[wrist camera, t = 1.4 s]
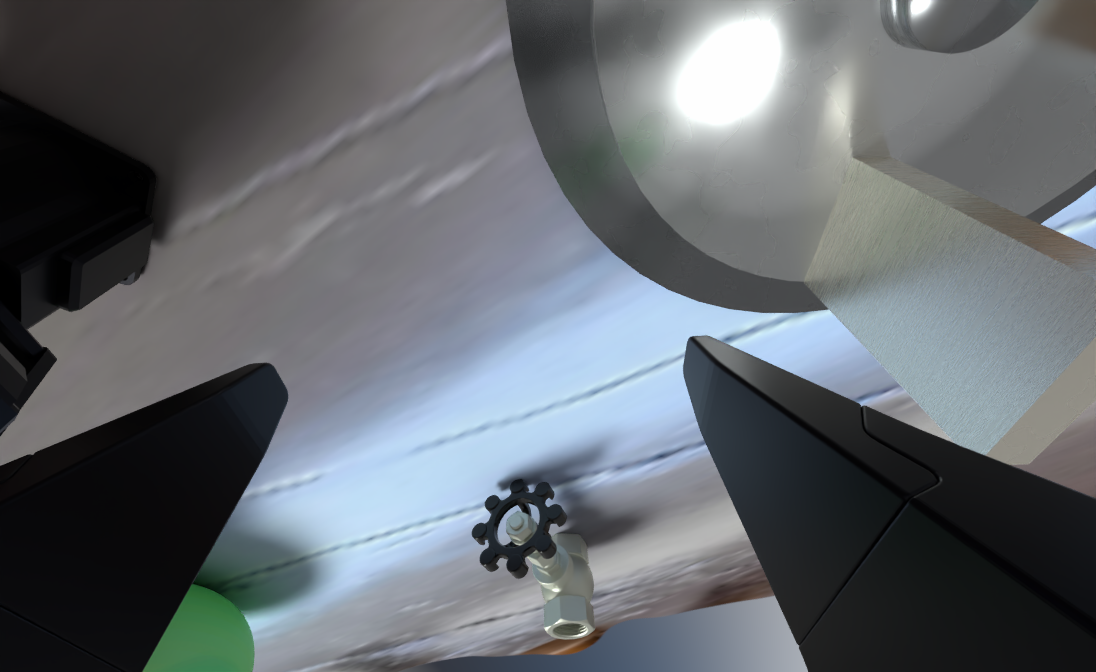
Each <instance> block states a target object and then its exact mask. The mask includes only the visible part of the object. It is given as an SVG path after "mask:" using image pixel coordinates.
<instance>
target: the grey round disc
mask: <svg viewBox="0 0 1096 672" xmlns="http://www.w3.org/2000/svg"><path fill="white" fill-rule="evenodd" d="M506 3H507V11H508V18H509V26H510V33H511V40H512V48H513V55H514V61H515V65H516V69H517V73H518V77H519V81H520V85H521V89H522V93H523V97H524V101H525V105H526V109H527V113H528V116H529V118H530V121H531V123H532V126H533V129H534V131H535V134H536V137H537V139H538V142H539V144H540V147H541V150H542V152H543V155H544V157H545V159H546V161H547V163H548V165H549V167H550V169H551V171H552V172H553V174H554V176H555V178H556V180H557V182H558V183H559V185H560V187H561V189H562V191H563V193H564V195H565V196H566V198H567V199H568V200H569V202H570V203H571V204H572V206H573V207H574V209H575V210H576V211H577V213H578V214H579V215H580V217H581V218H582V220H583V221H584V222H585V224H586V225H587V226H588V228H589V229H590V230H591V231H592V232H593V233H594V234H595V235H596V236H597V237H598V238H599V239H600V240H601V241H602V242H603V243H604V244H605V245H606V246H607V247H608V248H609V249H610V250H611V251H612V252H613V253H614V254H615V255H616V256H618V257H619V258H620V259H622V260H623V261H624V262H626V263H627V264H628V265H629V266H631V267H632V268H633V269H635V270H636V271H637V272H639V273H640V274H642V275H643V276H645V277H647V278H649V279H650V280H652V281H654V282H656V283H658V284H659V285H661V286H663V287H665V288H666V289H668V290H671V291H673V292H676V293H678V294H681V295H683V296H686V297H689V298H691V299H694V300H696V301H699V302H703V303H707V304H711V305H715V306H720V307H724V308H728V309H734V310H743V311H751V312H760V313H799V312H809V311H818V310H828V308H827V307H826V306H825V305H824V304H823V303H822V302H821V300H820V299H819V298H818V297H817V296H816V295H815V294H814V293H813V292H812V291H811V290H810V289H809V288H808V287H807V286H806V285H805V284H804V282H800V281H786V280H780V279H774V278H769V277H763V276H759V275H755V274H752V273H749V272H746V271H743V270H739V269H736V268H733V267H731V266H729V265H727V264H725V263H723V262H721V261H719V260H717V259H715V258H713V257H710V256H708V255H707V254H705V253H704V252H702V251H701V250H699V249H698V248H697V247H695V246H694V245H692V244H691V243H689V242H688V241H686V240H685V239H684V238H682V237H681V236H680V235H679V234H678V233H677V232H676V231H675V230H674V229H673V228H672V227H671V226H670V225H669V224H668V223H667V222H666V221H665V220H664V219H663V218H661V216H660V215H659V214H658V212H657V211H656V210H655V209H654V207H653V206H652V205H651V203H650V202H649V201H648V199H647V198H646V197H645V195H644V194H643V193H642V192H641V190H640V188H639V186H638V184H637V183H636V181H635V179H634V177H633V175H632V173H631V172H630V170H629V168H628V166H627V164H626V163H625V161H624V159H623V157H622V155H621V154H620V152H619V149H618V147H617V144H616V142H615V139H614V136H613V134H612V131H611V129H610V126H609V123H608V121H607V118H606V115H605V111H604V107H603V103H602V99H601V95H600V91H599V86H598V82H597V78H596V73H595V65H594V56H593V48H592V39H591V31H590V0H506ZM1095 185H1096V169H1095V170H1094V171H1093V172H1091V173H1090V174H1089V175H1087V176H1086V177H1085V178H1083V179H1082V180H1081V181H1079V182H1078V183H1076V184H1075V185H1074V186H1072V187H1071V188H1069V189H1068V190H1066V191H1065V192H1063V193H1061V194H1060V195H1058V196H1057V197H1055V198H1054V199H1052V200H1051V201H1049V202H1048V203H1046V204H1044V205H1043V206H1041V207H1040V208H1038V209H1037V210H1035V211H1034V212H1032V213H1030V214H1028V215H1027V216H1025V218H1028V219H1030V220H1032V221H1034V222H1037V223H1039V224H1041V223H1042V222H1044V221H1045V220H1047V219H1048V218H1050V217H1051V216H1053V215H1054V214H1056V213H1058V212H1059V211H1061V210H1062V209H1064V208H1065V207H1067V206H1068V205H1070V204H1071V203H1073V202H1074V201H1076V200H1077V199H1078V198H1080V197H1081V196H1082V195H1084V194H1085V193H1086V192H1088V191H1089V190H1090V189H1092V188H1093V187H1094V186H1095Z"/></svg>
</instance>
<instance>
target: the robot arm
mask: <svg viewBox="0 0 1096 672" xmlns="http://www.w3.org/2000/svg"><path fill="white" fill-rule="evenodd" d="M136 172H137V173H138V174H140V175H141V177H142V178H143V180H142V179H140V178H139V177H138V176H137V175H136ZM155 186H156V176H155V174H154V172H153V171H152V170H151V169H150V168H149V167H148V166H146V165H145V164H143V163H141V162H139V161H137V160H135V159H133V158H131V157H129V156H127V155H125V154H123V153H121V152H119V151H117V150H115V149H113V148H111V147H109V146H107V145H105V144H103V143H101V142H99V141H97V140H95V139H93V138H91V137H89V136H88V135H86V134H84V133H82V132H80V131H78V130H76V129H74V128H72V127H70V126H68V125H66V124H64V123H62V122H60V121H58V120H56V119H54V118H52V117H50V116H48V115H46V114H44V113H42V112H40V111H38V110H36V109H34V108H32V107H30V106H28V105H26V104H24V103H22V102H20V101H18V100H16V99H14V98H12V97H10V96H8V95H6V94H4V93H3V92H1V91H0V436H1V435H2V434H3V432H4V431H5V430H6V428H7V427H8V426H9V425H10V424H11V423H12V422H13V421H14V420H15V419H16V417H17V415H18V413H19V411H20V409H21V408H22V407H23V405H24V404H25V403H26V401H27V400H28V398H29V397H30V396H31V394H32V393H33V392H34V390H35V389H36V388H37V386H38V385H39V384H40V382H41V381H42V380H43V378H44V377H45V375H46V374H47V373H48V371H49V370H50V369H51V367H52V366H53V365H54V363H55V362H56V361H57V358H56V357H55V356H54V355H53V354H52V353H51V351H50V350H49V349H48V348H47V347H42V346H41V345H40V344H39V343H38V341H37V340H36V339H35V338H34V337H33V336H32V335H31V333H30V332H29V331H28V330H27V329H29V328H30V327H32V326H34V325H35V324H37V323H38V322H40V321H41V320H43V319H44V318H46V317H47V316H49V315H50V314H52V313H53V312H55V311H56V310H58V309H59V308H61V309H64V310H67V311H69V312H73V311H77V310H80V309H82V308H83V307H85V306H86V305H88V304H89V303H91V302H92V301H93V300H95V299H96V298H98V297H99V296H101V295H102V294H104V293H105V292H106V291H108V290H109V289H111V288H112V287H114V286H115V285H117V284H118V283H120V284H124V285H130V284H132V283H134V282H135V281H137V280H138V279H139V277H140V272H141V267H143V266H144V265H145V264H146V263H147V259H148V254H149V248H150V243H151V237H152V232H153V226H154V222H153V220H152V217H151V216H150V215H151V209H152V203H153V198H154V192H155ZM683 374H684V379H685V382H686V386H687V389H688V392H689V396H690V399H691V402H692V406H693V409H694V413H695V416H696V419H697V422H698V425H699V428H700V431H701V434H702V436H703V438H704V441H705V443H706V445H707V447H708V449H709V452H710V454H711V456H712V458H713V460H714V463H715V465H716V467H717V469H718V471H719V474H720V476H721V478H722V480H723V482H724V485H725V487H726V489H727V491H728V493H729V496H730V498H731V500H732V502H733V504H734V507H735V509H736V511H737V513H738V515H739V518H740V520H741V522H742V524H743V526H744V528H745V531H746V533H747V535H748V537H749V539H750V542H751V544H752V546H753V548H754V550H755V553H756V555H757V557H758V559H759V561H760V564H761V566H762V568H763V570H764V572H765V575H766V577H767V579H768V581H769V583H770V586H771V588H772V590H773V592H774V594H775V597H776V599H777V601H778V603H779V605H780V608H781V610H782V612H783V614H784V616H785V618H786V621H787V623H788V625H789V627H790V629H791V632H792V634H793V636H794V638H795V640H796V643H797V644H798V645H800V646H799V649H800V652H801V654H802V656H803V659H804V661H805V664H806V666H807V669H808V672H1096V498H1094V497H1091V496H1088V495H1086V494H1083V493H1081V492H1078V491H1076V490H1073V489H1070V488H1068V487H1065V486H1063V485H1060V484H1058V483H1055V482H1052V481H1050V480H1047V479H1045V478H1042V477H1040V476H1037V475H1034V474H1032V473H1029V472H1027V471H1024V470H1022V469H1019V468H1016V467H1014V466H1011V465H1009V464H1006V463H1004V462H1001V461H998V460H996V459H993V458H991V457H988V456H986V455H983V454H980V453H978V452H975V451H973V450H970V449H968V448H965V447H962V446H960V445H957V444H955V443H952V442H950V441H947V440H945V439H942V438H940V437H937V436H935V435H932V434H930V433H927V432H925V431H922V430H920V429H918V428H915V427H913V426H911V425H908V424H906V423H904V422H901V421H899V420H897V419H894V418H892V417H890V416H887V415H885V414H883V413H881V412H879V411H876V410H874V409H872V408H870V407H867V406H862V407H861V405H860V404H859V403H857V402H855V401H852V400H850V399H848V398H846V397H843V396H841V395H839V394H837V393H835V392H832V391H830V390H828V389H826V388H823V387H821V386H819V385H817V384H814V383H812V382H810V381H808V380H806V379H803V378H801V377H799V376H797V375H794V374H792V373H790V372H788V371H786V370H783V369H781V368H779V367H777V366H774V365H772V364H770V363H768V362H766V361H763V360H761V359H759V358H757V357H754V356H752V355H750V354H748V353H745V352H743V351H741V350H739V349H737V348H734V347H732V346H730V345H728V344H725V343H723V342H721V341H719V340H717V339H714V338H712V337H710V336H692V337H690V338H689V339H688V341H687V346H686V352H685V358H684V364H683ZM287 402H288V391H287V389H286V387H285V385H284V383H283V381H282V380H281V378H280V376H279V374H278V373H277V371H276V369H275V368H274V366H273V365H272V364H270V363H253V364H249V365H246V366H244V367H241V368H239V369H236V370H234V371H231V372H229V373H227V374H224V375H222V376H219V377H217V378H214V379H212V380H210V381H207V382H205V383H202V384H200V385H198V386H195V387H193V388H190V389H188V390H185V391H183V392H181V393H178V394H176V395H173V396H171V397H168V398H166V399H164V400H161V401H159V402H156V403H154V404H151V405H149V406H147V407H144V408H142V409H139V410H137V411H134V412H132V413H130V414H127V415H125V416H122V417H120V418H117V419H115V420H113V421H110V422H108V423H105V424H103V425H100V426H98V427H96V428H93V429H91V430H88V431H86V432H84V433H81V434H79V435H76V436H74V437H71V438H69V439H67V440H64V441H62V442H59V443H57V444H54V445H52V446H50V447H47V448H45V449H42V450H40V451H37V452H36V453H34V455H31V454H30V455H26V456H23V457H21V458H18V459H16V460H14V461H11V462H9V463H6V464H4V465H1V466H0V672H143V670H144V668H145V666H146V665H147V663H148V661H149V659H150V658H151V656H152V654H153V652H154V651H155V649H156V647H157V645H158V643H159V642H160V640H161V638H162V636H163V635H164V633H165V631H166V629H167V628H168V626H169V624H170V622H171V620H172V619H173V617H174V615H175V613H176V612H177V610H178V608H179V606H180V605H181V603H182V601H183V599H184V598H185V596H186V594H187V592H188V590H189V589H190V587H191V585H192V583H193V582H194V580H195V578H196V576H197V575H198V573H199V571H200V569H201V567H202V566H203V564H204V562H205V560H206V559H207V557H208V555H209V553H210V552H211V550H212V548H213V546H214V544H215V543H216V541H217V539H218V537H219V536H220V534H221V532H222V530H223V529H224V527H225V525H226V523H227V522H228V520H229V518H230V516H231V514H232V513H233V511H234V509H235V507H236V506H237V504H238V502H239V500H240V499H241V497H242V495H243V493H244V491H245V490H246V488H247V486H248V484H249V483H250V481H251V479H252V477H253V476H254V474H255V472H256V470H257V469H258V467H259V465H260V463H261V461H262V459H263V457H264V455H265V453H266V451H267V449H268V447H269V444H270V442H271V440H272V437H273V435H274V433H275V430H276V428H277V426H278V423H279V421H280V419H281V416H282V414H283V412H284V409H285V407H286V405H287Z"/></svg>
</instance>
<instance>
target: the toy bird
mask: <svg viewBox="0 0 1096 672" xmlns="http://www.w3.org/2000/svg"><path fill="white" fill-rule="evenodd" d="M253 665H254V641H253V636H252V633H251V630H250V627H249V625H248V623H247V621H246V619H245V617H244V616H243V614H242V613H241V612H240V610H239V609H238V608H237V607H236V606H235V605H234V604H233V603H232V602H230V601H229V600H228V599H226V598H225V597H223V596H222V595H220V594H218V593H216V592H214V591H212V590H210V589H207V588H205V587H202V586H198V585H194V584H192V585H191V587H190V589H189V590H188V592H187V594H186V596H185V598H184V599H183V601H182V603H181V605H180V606H179V608H178V610H177V612H176V613H175V615H174V617H173V619H172V620H171V622H170V624H169V626H168V628H167V629H166V631H165V633H164V635H163V636H162V638H161V640H160V642H159V643H158V645H157V647H156V649H155V651H154V652H153V654H152V656H151V658H150V659H149V661H148V663H147V665H146V666H145V668H144V670H143V672H252V671H253Z"/></svg>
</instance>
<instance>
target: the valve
mask: <svg viewBox="0 0 1096 672" xmlns="http://www.w3.org/2000/svg"><path fill="white" fill-rule="evenodd" d="M510 490H511V495H510V496H509V497H508V498H506V499H504V500H500V499H499V497H498V496H496V495H492V496H490V497H488V498H487V500H486V501H485V508H486V509H487V510H488V511H489V512H490V514H491V517H490V519H489V521H488V522H487V523H485V524H484V523H479V524H477V525H476V526H475V527H474V528H473V530H472V537H473V538H474V539H475V540H476V541H477V542H478V543H479V544H480V545H485V540H488V543H489V547H488V548H487V549H485V550H484V551H483V552H482V553H481V555H480V563H481V564H482V565H483V566H484V567H485V568H486V569H487V570H488V571H490V572H493V571H496V570H497V569H498V568H499V566H498V565H497V564H496V563H497V562H498V560H499V559H500V558H504V559H507V560H508V561H507V564H506V566H507V570H508V571H509V572H510V573H511V574H512V575H513V576H514V577H515V578H518V579H520V578H523V577H524V576H525V575H526V574H527V572H528V568H529V567H528V566H527V565H526V562H525V557H528V559H529V560H530V561H531V562H532V563H533V564H532V570H533V575H534V577H535V578H536V580H537V581H538V582H539V583H540V584H541V591H542V595H543V598H544V601H545V603H546V604H545V605H544V628H545V630H546V631H547V633H548V634H549V635H550V636H552V637H555V638H559V639H576V638H581V637H584V636H587V635H588V634H590V633H591V632H592V631H593V630H595V622H594V612H593V606H592V605H591V604H590V601H591V599H592V596H593V590H594V581H593V576H592V572H591V570H590V568H589V566H588V564H589V562H588V552H587V545H586V543H585V542H584V540H583V539H582V537H581V536H580V535H578V534H562V533H558V534H555V535H553V536H552V537H551V535H550V534H549V533H548V532H549V528H550V524H557V525H558V526H559V527H560V526H562V525H564V524H565V522H566V520H567V515H566V513H565V512H564V510H563V509H562V507H561V506H560V505H558V504H553V505H551V506H550V507H547V506H546V504H545V501H546V500H547V499H548V498H550V499H551V500H553V498H554V491H553V490H552V488H551V487H550V485H549V484H548V483H547V482H541V483H539V484H538V485H537V486H536V488H535V491H534V492H532V493H529V492H528V491H529V488H528V486H527V485H526V484H525V482H524V481H523V480H522V479H519V480H515V481H513V482H512V483H511V485H510ZM528 503H529V504H533V505H535V506H536V507H537V508H538V510H539V514H540V520H539V525H538V524H537V523H536V522H535V520H534V519H533V518H532V516H531V510H530V507H529V504H528ZM516 505H518V506H519V507H520V509H521V511H522V512H520V511H517V512H516V513H514V514H513V515H511V516H510V517H509V518H508V519H507V524H506V532H507V534H508V535H509V537H510V539H511V540H512V541H511V542H510V543H509V544H507V545H502V544H501V543H500V542H499V540H498V536H497V531H498V526H499V523H500V521H501V519H502V518H503V516H504V515H505V514H506V512H507V511H508V510H510V509H511V508H512V507H514V506H516Z"/></svg>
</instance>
